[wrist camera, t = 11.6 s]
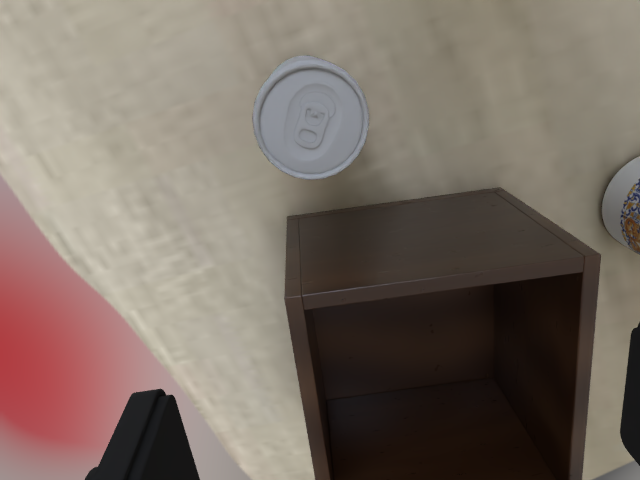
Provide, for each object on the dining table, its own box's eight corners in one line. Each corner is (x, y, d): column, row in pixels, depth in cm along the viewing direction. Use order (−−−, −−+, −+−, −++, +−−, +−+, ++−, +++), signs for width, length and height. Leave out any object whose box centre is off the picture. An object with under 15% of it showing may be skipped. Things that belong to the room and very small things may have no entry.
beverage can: (354, 70, 31) (390, 84, 19) (328, 146, 32) (348, 198, 21) (278, 43, 30) (271, 40, 19) (256, 121, 31) (236, 162, 20)
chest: (286, 216, 34) (284, 297, 23) (501, 186, 34) (602, 254, 23) (316, 402, 39) (325, 540, 28) (500, 377, 39) (580, 505, 28)
